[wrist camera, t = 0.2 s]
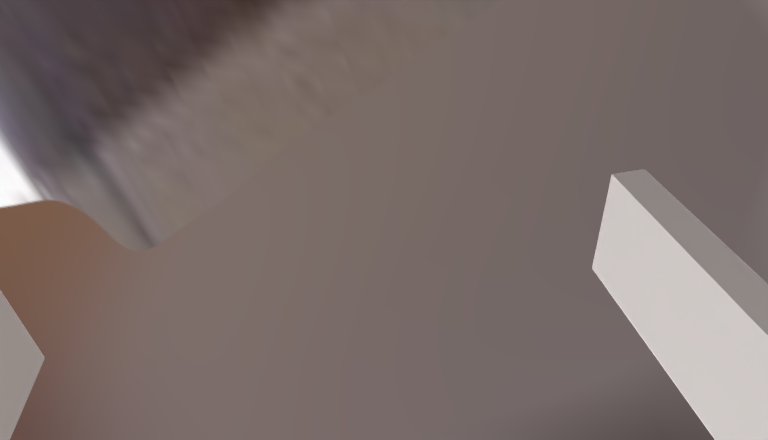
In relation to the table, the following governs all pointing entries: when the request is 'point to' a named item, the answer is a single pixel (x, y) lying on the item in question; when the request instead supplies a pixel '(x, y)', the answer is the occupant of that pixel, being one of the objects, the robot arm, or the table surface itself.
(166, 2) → the table surface
